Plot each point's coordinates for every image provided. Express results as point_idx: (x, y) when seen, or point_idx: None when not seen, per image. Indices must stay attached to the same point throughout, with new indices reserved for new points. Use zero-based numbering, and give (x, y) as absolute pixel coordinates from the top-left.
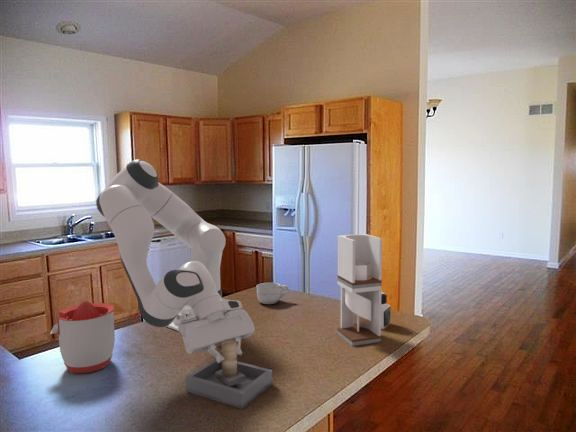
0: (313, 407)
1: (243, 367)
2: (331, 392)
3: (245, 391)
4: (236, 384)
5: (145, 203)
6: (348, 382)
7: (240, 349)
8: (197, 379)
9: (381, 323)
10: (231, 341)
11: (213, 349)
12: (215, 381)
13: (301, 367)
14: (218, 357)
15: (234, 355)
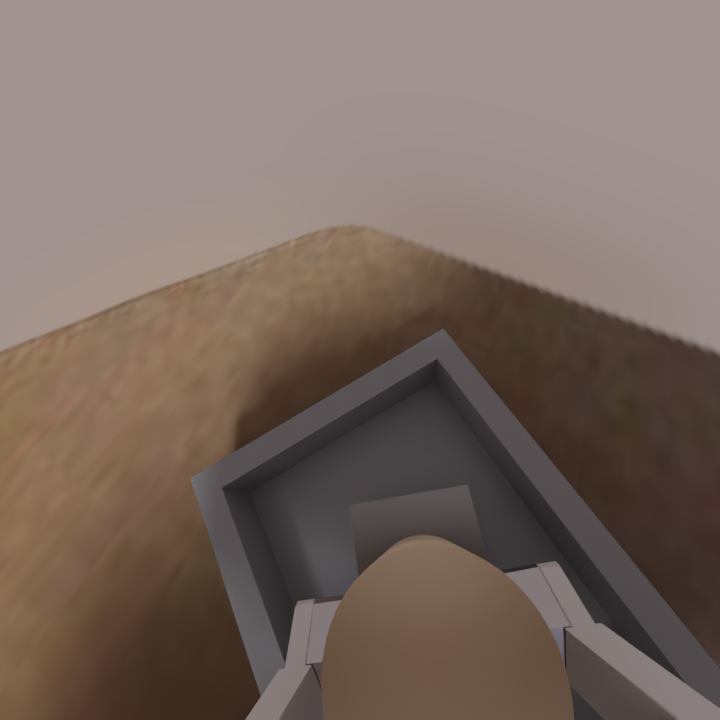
0: (223, 271)
1: None
2: (114, 319)
3: (418, 343)
4: None
5: None
6: (21, 347)
7: (294, 636)
8: (691, 649)
9: None
10: (385, 715)
11: (692, 704)
12: None
13: (15, 571)
14: (576, 597)
15: (401, 543)
